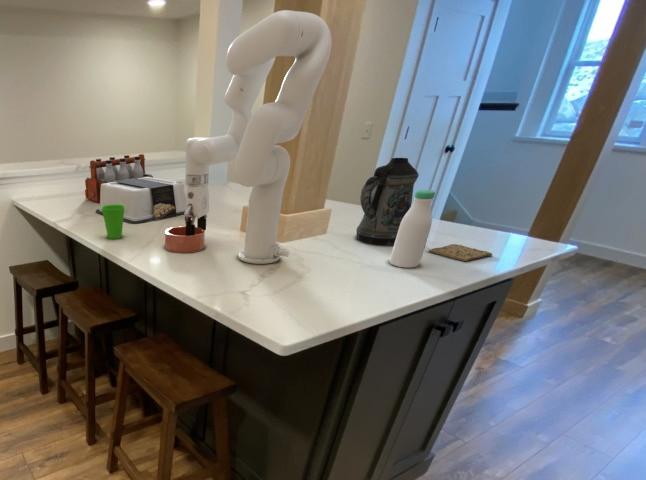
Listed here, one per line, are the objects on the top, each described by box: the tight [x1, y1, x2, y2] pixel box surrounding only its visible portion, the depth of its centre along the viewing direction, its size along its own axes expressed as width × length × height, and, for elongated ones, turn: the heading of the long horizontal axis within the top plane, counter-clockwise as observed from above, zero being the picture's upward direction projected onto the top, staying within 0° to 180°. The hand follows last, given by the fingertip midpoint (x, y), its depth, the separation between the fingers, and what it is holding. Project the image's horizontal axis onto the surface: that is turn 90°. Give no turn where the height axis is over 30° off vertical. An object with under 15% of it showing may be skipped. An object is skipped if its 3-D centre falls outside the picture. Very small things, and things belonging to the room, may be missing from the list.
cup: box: [101, 205, 125, 240], centre depth 166 cm, size 9×9×11 cm
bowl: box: [164, 225, 206, 254], centre depth 153 cm, size 13×13×6 cm
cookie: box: [428, 243, 493, 262], centre depth 136 cm, size 12×12×1 cm
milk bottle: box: [389, 189, 436, 268], centre depth 125 cm, size 8×8×20 cm
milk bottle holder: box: [84, 153, 154, 203], centre depth 231 cm, size 21×35×19 cm, turn 126°
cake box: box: [95, 177, 186, 224], centre depth 201 cm, size 35×33×12 cm
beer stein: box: [355, 157, 420, 247], centre depth 145 cm, size 16×19×25 cm
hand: (196, 233), depth 156 cm, fingers open, 9 cm apart
